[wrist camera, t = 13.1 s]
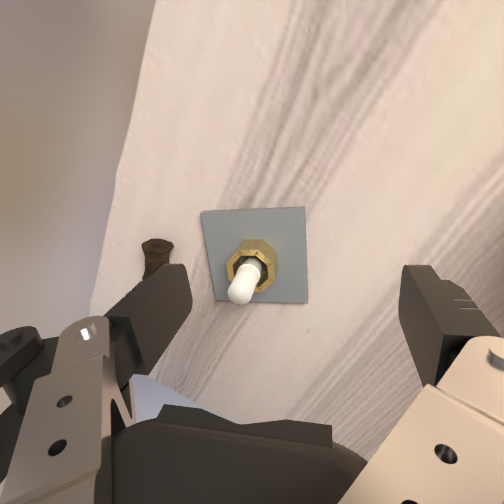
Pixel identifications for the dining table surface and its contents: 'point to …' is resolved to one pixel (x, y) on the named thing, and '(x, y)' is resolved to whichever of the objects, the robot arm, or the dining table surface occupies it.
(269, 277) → the ring
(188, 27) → the dining table surface
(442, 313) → the robot arm
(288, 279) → the post base
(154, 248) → the hand tool
